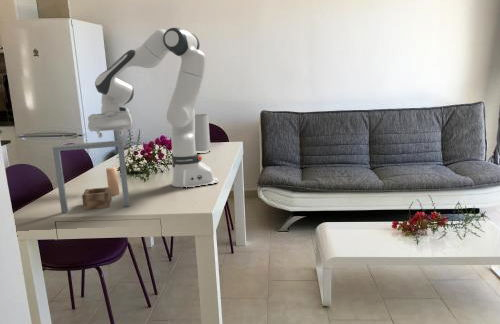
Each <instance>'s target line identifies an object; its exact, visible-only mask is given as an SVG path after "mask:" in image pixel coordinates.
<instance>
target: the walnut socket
mask: <svg viewBox="0 0 500 324" xmlns="http://www.w3.org/2000/svg"><path fill="white" fill-rule="evenodd" d="M81 198H82V205H83V210H85V211H86V210H87V211H88V210H96V209H104V208H110V207H111V205H112V201H113V197H112V196H111V187H108V186H106V187H96V188H86V189H85V190H84V192H83V193H82V195H81Z"/></svg>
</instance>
